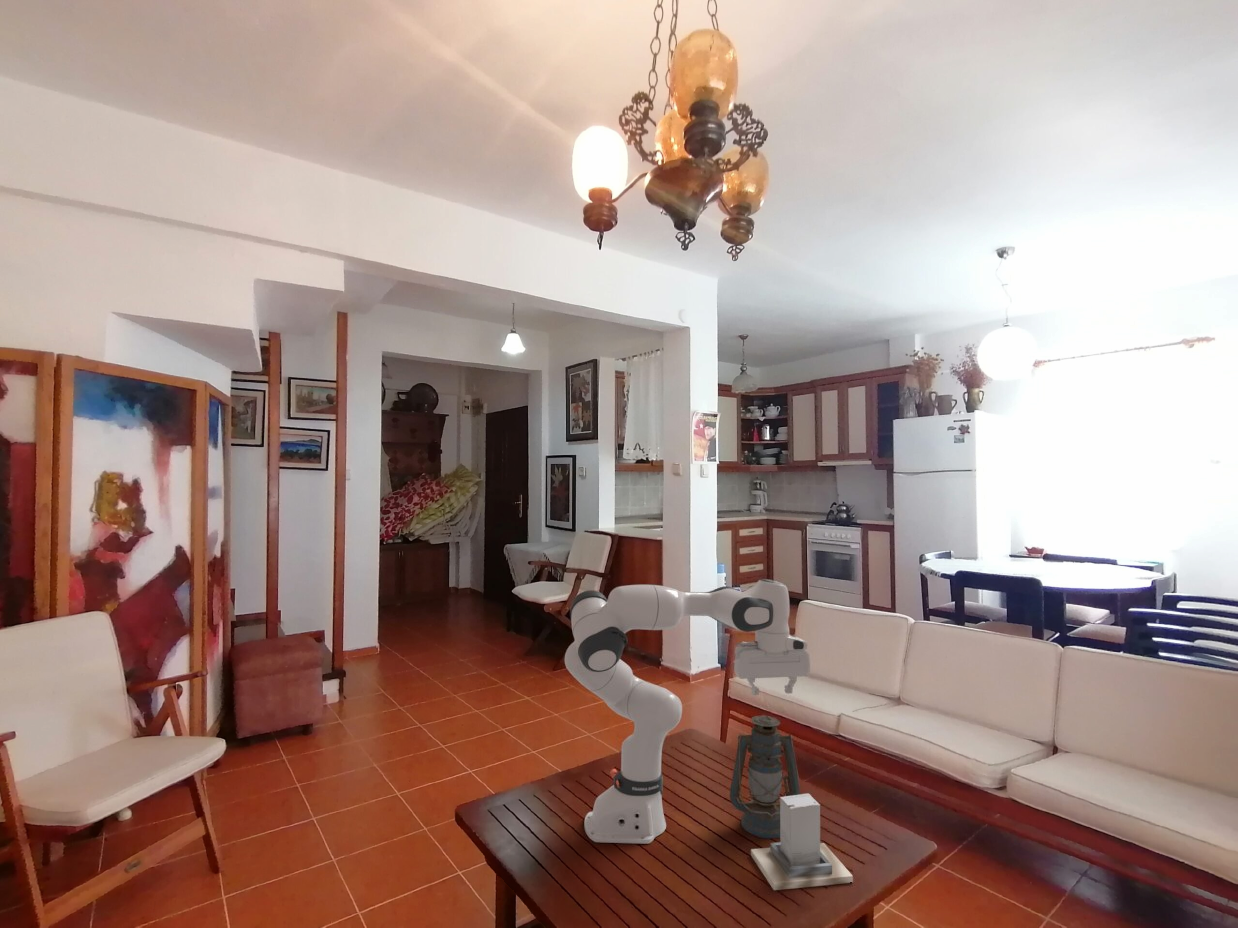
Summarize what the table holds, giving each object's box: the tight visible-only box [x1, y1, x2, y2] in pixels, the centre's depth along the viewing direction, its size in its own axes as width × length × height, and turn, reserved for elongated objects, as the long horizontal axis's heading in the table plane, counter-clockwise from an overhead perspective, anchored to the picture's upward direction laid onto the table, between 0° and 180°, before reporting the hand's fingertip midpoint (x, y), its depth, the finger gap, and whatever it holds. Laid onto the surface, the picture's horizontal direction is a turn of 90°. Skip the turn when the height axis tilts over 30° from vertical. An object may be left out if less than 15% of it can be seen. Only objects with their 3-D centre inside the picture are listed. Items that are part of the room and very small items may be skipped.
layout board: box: [750, 841, 854, 891], centre depth 155 cm, size 20×14×4 cm
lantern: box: [729, 714, 801, 839], centre depth 174 cm, size 19×14×30 cm
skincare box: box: [779, 793, 821, 866], centre depth 156 cm, size 8×6×15 cm
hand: (771, 693), depth 166 cm, fingers open, 8 cm apart
